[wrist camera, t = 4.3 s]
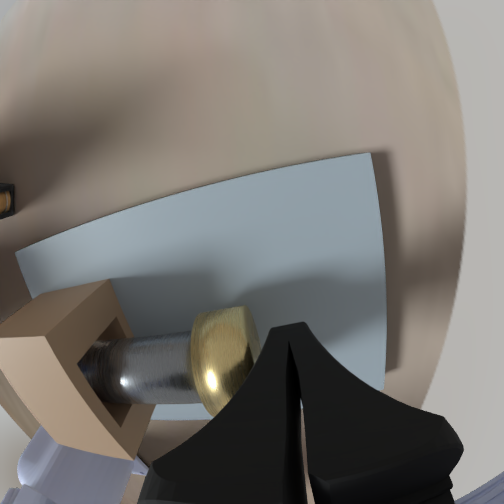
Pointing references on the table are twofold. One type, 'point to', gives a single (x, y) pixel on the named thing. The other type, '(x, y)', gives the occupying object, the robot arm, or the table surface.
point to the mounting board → (199, 287)
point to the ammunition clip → (6, 200)
